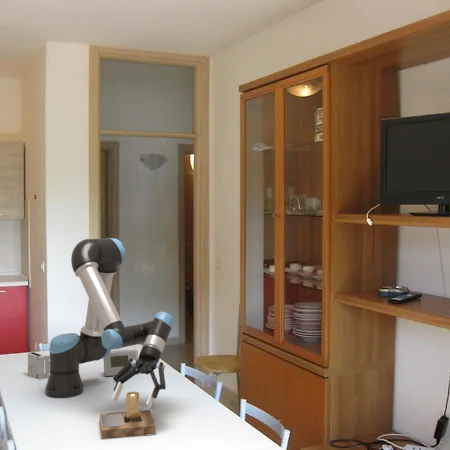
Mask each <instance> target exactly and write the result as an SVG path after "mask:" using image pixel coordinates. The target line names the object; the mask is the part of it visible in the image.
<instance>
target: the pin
mask: <svg viewBox="0 0 450 450" xmlns="http://www.w3.org/2000/svg"><path fill="white" fill-rule="evenodd" d="M125 395H126V397H125V398H126V402H125V403H126V408H125V409H126V411H125V412H126V423H128V422H139V411H140V392H138V391H129V392H126V394H125Z"/></svg>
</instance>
